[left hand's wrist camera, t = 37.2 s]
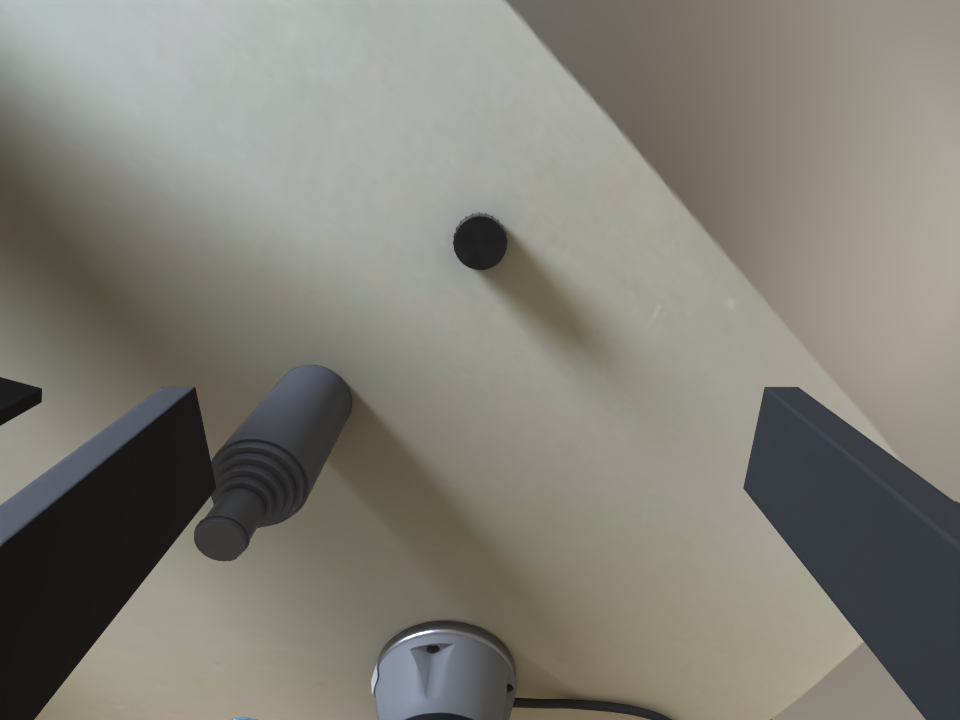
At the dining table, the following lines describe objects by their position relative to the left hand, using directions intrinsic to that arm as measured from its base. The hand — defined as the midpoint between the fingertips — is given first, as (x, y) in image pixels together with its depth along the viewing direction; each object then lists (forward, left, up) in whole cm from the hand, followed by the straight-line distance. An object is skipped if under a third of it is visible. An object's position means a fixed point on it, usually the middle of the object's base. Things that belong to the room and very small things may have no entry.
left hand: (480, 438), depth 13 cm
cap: (0, 0, -29) cm, 29 cm away
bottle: (+4, +20, -31) cm, 37 cm away
